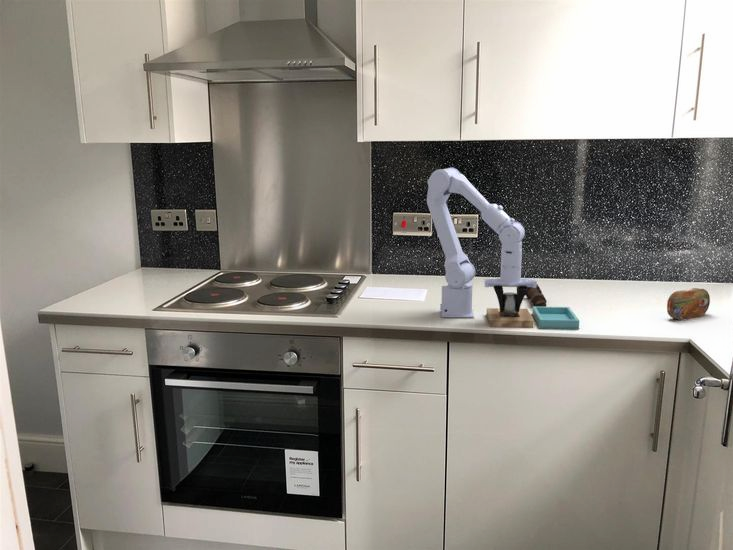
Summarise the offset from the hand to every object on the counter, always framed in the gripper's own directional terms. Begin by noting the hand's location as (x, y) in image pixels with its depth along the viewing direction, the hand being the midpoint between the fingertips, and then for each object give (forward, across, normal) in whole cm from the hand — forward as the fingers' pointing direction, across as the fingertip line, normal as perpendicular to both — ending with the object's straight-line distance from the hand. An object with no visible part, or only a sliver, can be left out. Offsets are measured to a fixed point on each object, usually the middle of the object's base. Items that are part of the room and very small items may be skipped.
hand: (509, 311), depth 181 cm
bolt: (+3, +10, +18) cm, 21 cm away
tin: (+3, +52, +6) cm, 52 cm away
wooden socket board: (+3, 0, 0) cm, 3 cm away
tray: (+3, +13, 0) cm, 13 cm away
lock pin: (+3, 0, 0) cm, 3 cm away
